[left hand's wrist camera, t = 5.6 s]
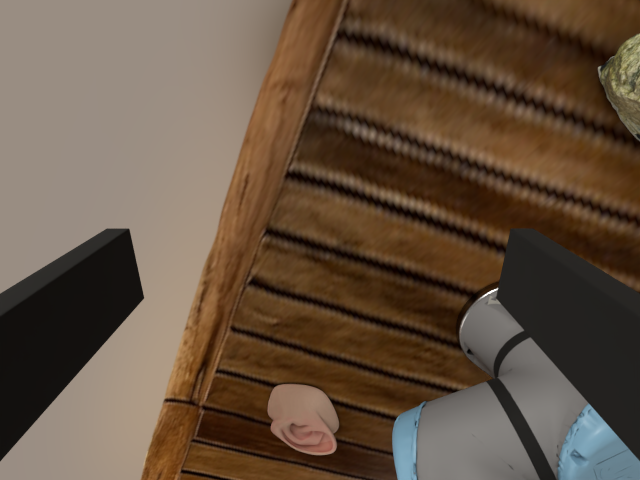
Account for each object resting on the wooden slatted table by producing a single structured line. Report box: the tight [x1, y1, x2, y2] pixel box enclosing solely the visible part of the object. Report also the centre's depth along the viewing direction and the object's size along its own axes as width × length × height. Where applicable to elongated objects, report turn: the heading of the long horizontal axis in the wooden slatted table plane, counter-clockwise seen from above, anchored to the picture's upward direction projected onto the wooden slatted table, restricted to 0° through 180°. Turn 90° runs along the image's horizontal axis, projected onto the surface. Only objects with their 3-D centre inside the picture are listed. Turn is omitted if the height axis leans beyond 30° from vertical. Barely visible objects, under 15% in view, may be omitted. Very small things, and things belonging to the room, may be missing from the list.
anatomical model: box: [268, 384, 339, 455], centre depth 58 cm, size 13×4×12 cm
